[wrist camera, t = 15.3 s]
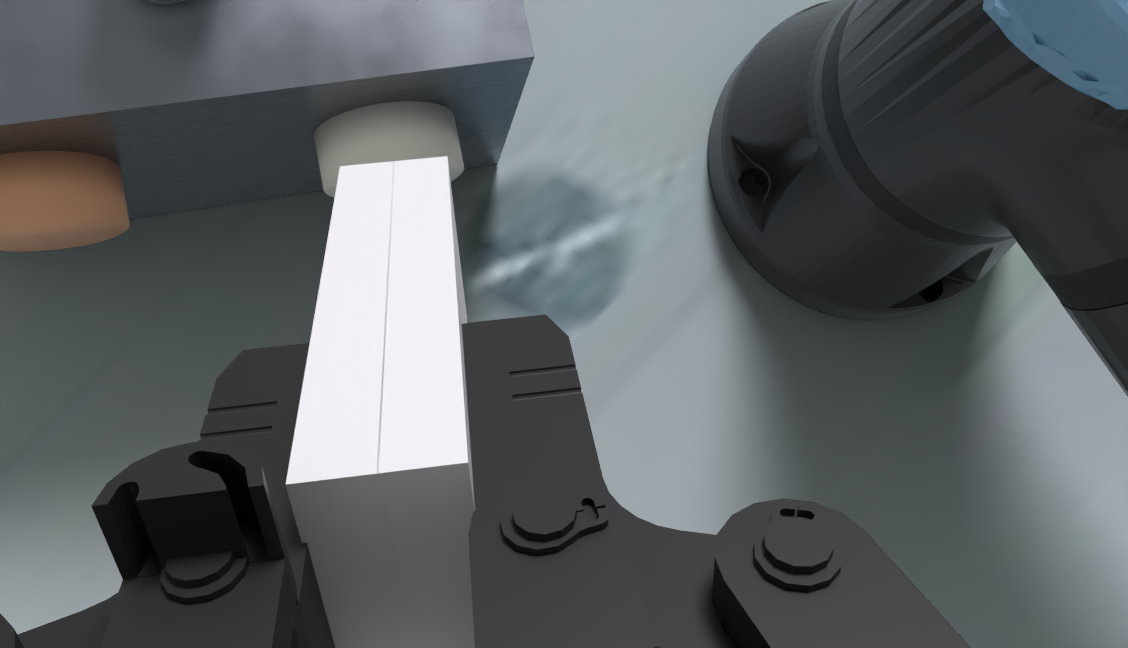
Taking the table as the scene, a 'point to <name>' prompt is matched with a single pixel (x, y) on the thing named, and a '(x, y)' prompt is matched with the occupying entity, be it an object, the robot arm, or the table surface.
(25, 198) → the knob
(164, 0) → the dial
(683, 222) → the table surface
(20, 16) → the grey puzzle box
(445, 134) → the knob
